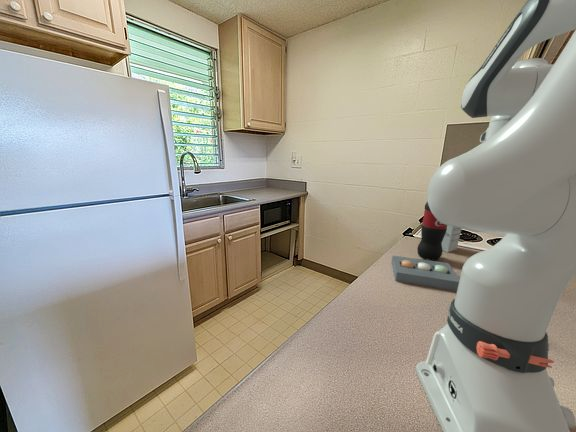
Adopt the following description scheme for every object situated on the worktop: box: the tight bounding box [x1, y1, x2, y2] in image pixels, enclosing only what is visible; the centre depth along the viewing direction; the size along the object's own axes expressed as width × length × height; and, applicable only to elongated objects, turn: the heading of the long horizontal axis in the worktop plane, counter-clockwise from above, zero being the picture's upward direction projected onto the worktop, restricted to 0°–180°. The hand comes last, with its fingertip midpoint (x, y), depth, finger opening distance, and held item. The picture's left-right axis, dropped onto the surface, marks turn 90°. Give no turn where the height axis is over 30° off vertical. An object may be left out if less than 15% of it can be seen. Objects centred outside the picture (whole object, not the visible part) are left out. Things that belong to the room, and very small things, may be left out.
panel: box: [391, 255, 460, 292], centre depth 81 cm, size 14×18×3 cm
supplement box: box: [442, 225, 462, 253], centre depth 105 cm, size 7×7×13 cm
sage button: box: [434, 265, 448, 274], centre depth 79 cm, size 4×4×2 cm
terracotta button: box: [401, 260, 414, 268], centre depth 82 cm, size 4×4×2 cm
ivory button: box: [417, 262, 430, 271], centre depth 80 cm, size 4×4×2 cm
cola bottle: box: [417, 201, 447, 261], centre depth 92 cm, size 8×8×30 cm
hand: (495, 187), depth 66 cm, fingers closed
